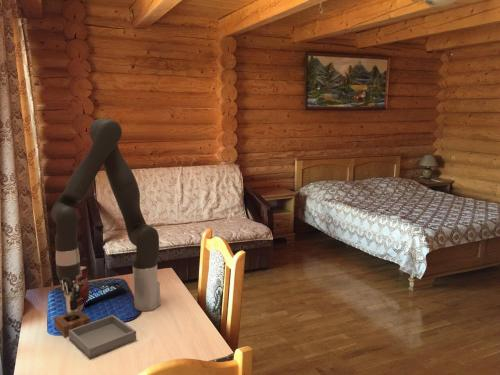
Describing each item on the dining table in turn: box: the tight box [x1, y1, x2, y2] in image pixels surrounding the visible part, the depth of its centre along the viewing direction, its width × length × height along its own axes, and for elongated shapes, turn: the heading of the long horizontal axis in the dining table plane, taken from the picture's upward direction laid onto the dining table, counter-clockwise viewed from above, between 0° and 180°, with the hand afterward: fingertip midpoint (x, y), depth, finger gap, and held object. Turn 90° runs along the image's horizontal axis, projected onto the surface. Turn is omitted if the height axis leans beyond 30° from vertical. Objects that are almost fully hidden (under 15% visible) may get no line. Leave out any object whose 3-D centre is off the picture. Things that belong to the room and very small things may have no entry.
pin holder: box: [53, 310, 91, 338], centre depth 150 cm, size 9×9×4 cm
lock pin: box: [63, 288, 77, 322], centre depth 149 cm, size 4×4×13 cm
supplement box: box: [65, 265, 90, 313], centre depth 164 cm, size 9×5×16 cm, turn 168°
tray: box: [68, 314, 137, 360], centre depth 142 cm, size 16×16×4 cm
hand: (71, 307), depth 149 cm, fingers closed on lock pin, 3 cm apart
